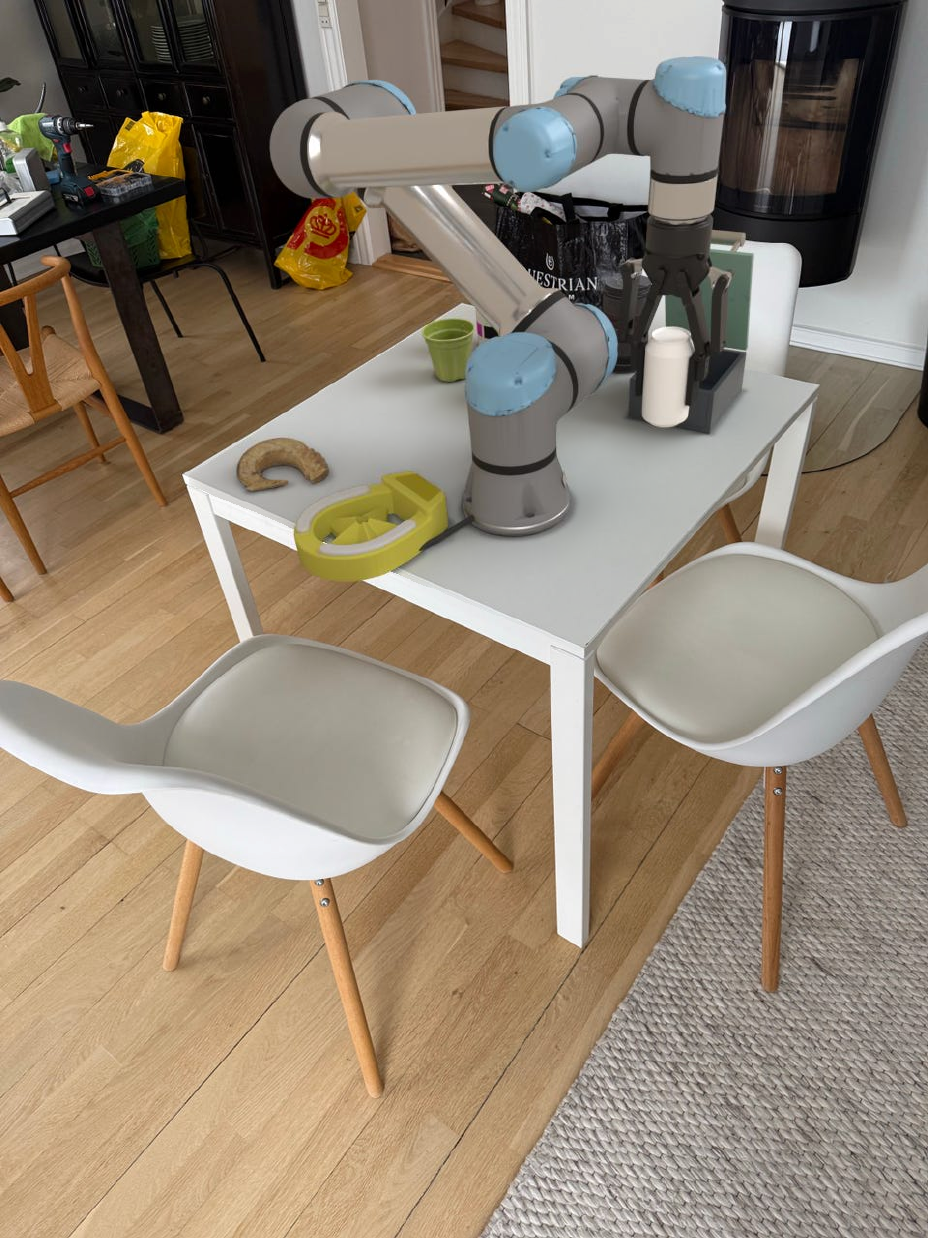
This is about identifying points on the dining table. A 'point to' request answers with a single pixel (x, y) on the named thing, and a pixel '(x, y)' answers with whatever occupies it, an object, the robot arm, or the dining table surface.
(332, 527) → the yellow apple slicer
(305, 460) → the artifact
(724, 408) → the box
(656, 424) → the beverage can
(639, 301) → the camera lens
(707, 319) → the green door with handle
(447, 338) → the plant pot
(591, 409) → the dining table surface
